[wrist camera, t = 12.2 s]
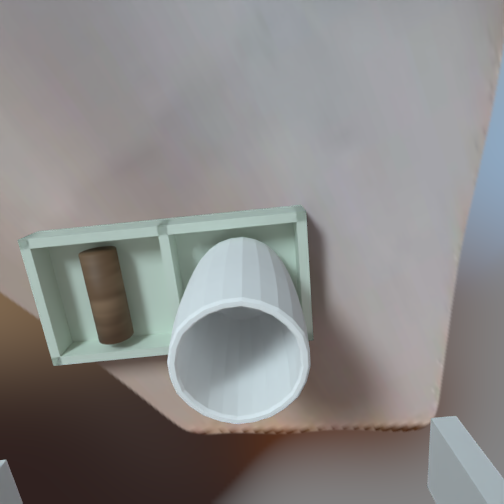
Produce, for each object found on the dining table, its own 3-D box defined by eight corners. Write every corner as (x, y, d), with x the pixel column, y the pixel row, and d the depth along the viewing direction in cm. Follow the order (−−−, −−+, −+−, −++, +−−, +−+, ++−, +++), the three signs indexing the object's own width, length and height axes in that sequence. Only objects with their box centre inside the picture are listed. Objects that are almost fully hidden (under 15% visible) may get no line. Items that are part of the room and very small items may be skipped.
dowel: (92, 246, 33) (70, 257, 30) (122, 245, 32) (103, 255, 30) (110, 327, 35) (92, 344, 32) (139, 327, 35) (123, 344, 32)
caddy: (37, 231, 33) (17, 240, 30) (300, 205, 32) (306, 211, 30) (68, 347, 36) (53, 365, 33) (307, 324, 36) (313, 340, 33)
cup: (194, 228, 32) (158, 290, 19) (290, 231, 33) (324, 295, 19) (194, 316, 35) (162, 429, 21) (284, 319, 35) (310, 432, 21)
